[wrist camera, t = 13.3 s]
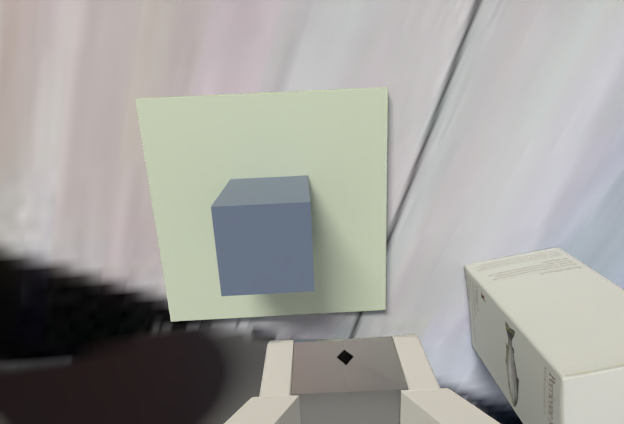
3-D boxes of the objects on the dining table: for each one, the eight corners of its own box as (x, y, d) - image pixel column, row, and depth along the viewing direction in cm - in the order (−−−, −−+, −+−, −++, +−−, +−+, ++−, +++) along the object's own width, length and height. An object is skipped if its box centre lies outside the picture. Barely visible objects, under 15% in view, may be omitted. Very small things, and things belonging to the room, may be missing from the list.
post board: (385, 87, 28) (407, 88, 22) (383, 304, 32) (401, 350, 27) (139, 98, 27) (99, 102, 22) (174, 315, 32) (148, 364, 26)
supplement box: (460, 262, 31) (561, 374, 19) (559, 244, 31) (723, 346, 19) (468, 346, 34) (563, 493, 22) (560, 329, 33) (708, 469, 21)
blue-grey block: (307, 175, 28) (310, 202, 22) (311, 247, 30) (314, 291, 24) (230, 179, 28) (210, 206, 22) (237, 251, 30) (221, 296, 23)
